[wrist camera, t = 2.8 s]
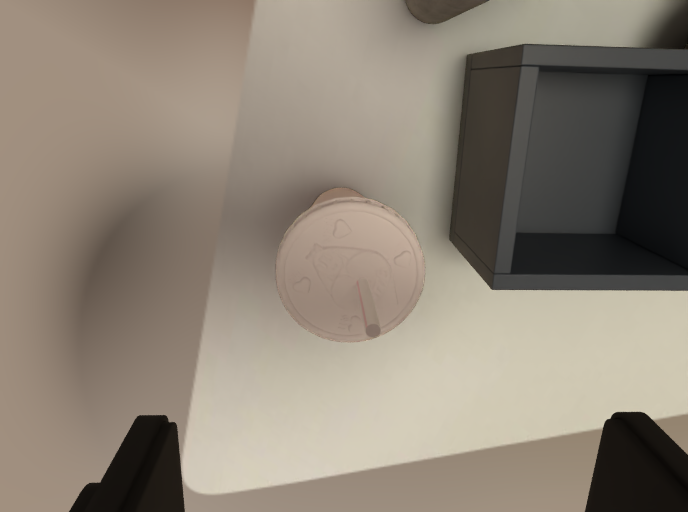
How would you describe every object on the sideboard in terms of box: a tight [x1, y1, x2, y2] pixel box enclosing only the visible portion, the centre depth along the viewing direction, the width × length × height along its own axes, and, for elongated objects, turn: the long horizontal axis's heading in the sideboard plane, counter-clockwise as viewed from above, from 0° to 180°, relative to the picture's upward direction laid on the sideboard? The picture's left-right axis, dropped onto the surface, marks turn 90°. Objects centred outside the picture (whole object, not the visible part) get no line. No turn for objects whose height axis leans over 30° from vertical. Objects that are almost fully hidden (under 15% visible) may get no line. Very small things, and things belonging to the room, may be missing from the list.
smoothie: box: [276, 188, 425, 342], centre depth 24 cm, size 6×6×14 cm
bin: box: [449, 44, 688, 291], centre depth 26 cm, size 11×11×8 cm
